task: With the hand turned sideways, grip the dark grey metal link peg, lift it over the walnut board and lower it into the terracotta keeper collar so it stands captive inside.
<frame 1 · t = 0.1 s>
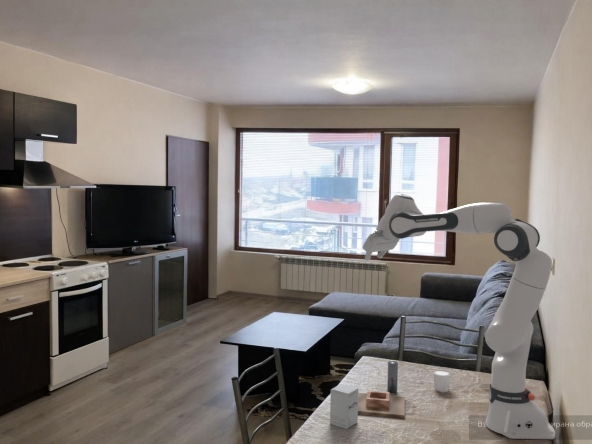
hand: (373, 258, 221), 54 cm above the table, tool tilted 30°, fingers open, 8 cm apart
link peg: (392, 391, 220), on the table
keeper board: (377, 406, 205), on the table
shot glass: (441, 389, 223), on the table
supplement box: (343, 423, 189), on the table
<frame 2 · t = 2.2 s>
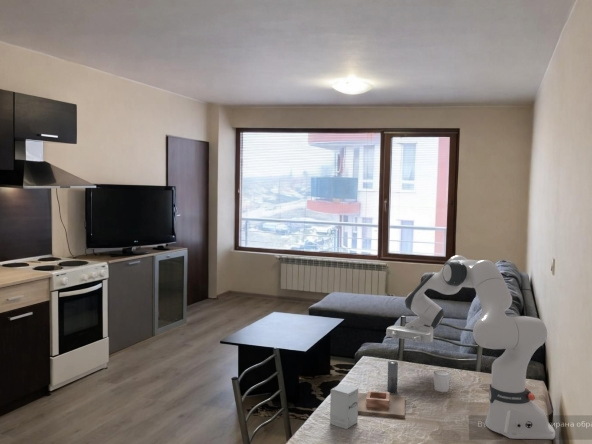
hand: (403, 338, 230), 19 cm above the table, tool horizontal, fingers open, 8 cm apart
nothing on the table moved.
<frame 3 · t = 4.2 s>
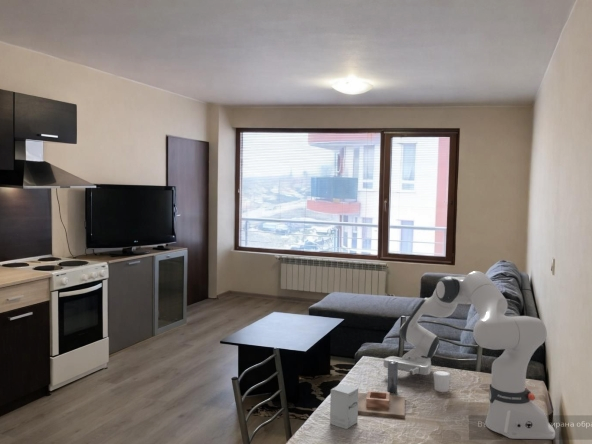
hand: (400, 370, 227), 6 cm above the table, tool horizontal, fingers open, 8 cm apart
nothing on the table moved.
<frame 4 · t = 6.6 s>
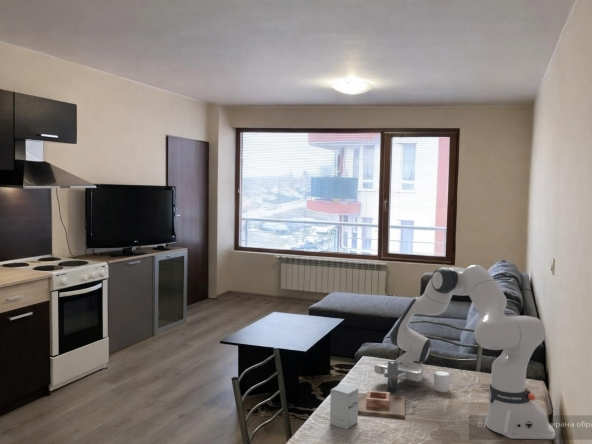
hand: (391, 376, 219), 7 cm above the table, tool horizontal, fingers closed on link peg, 4 cm apart
link peg: (392, 391, 220), on the table, touching gripper
everything else where it was.
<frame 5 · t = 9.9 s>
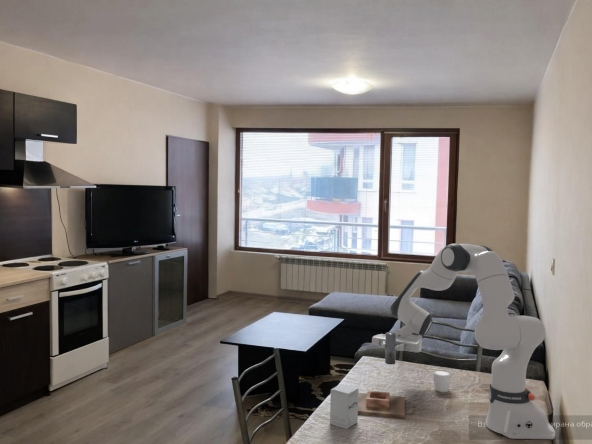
hand: (389, 347, 215), 20 cm above the table, tool horizontal, fingers closed on link peg, 4 cm apart
link peg: (390, 362, 216), point 13 cm above the table, touching gripper
everything else where it was.
when the fingers open (9 cm above the table, at t = 13.3 s): link peg drops 1 cm, resting on keeper board.
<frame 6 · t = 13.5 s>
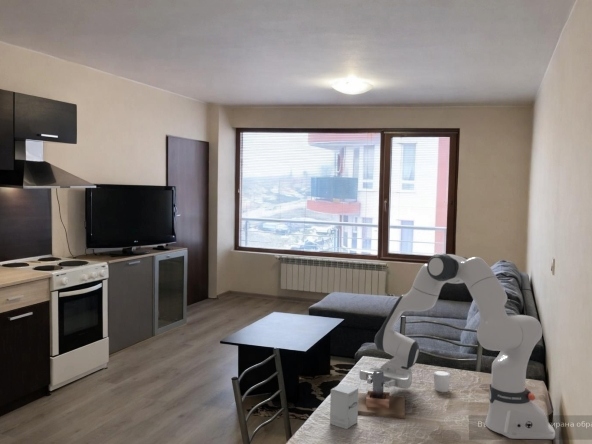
hand: (377, 383, 203), 9 cm above the table, tool horizontal, fingers open, 6 cm apart
link peg: (378, 403, 205), point 1 cm above the table, touching keeper board
everything else where it was.
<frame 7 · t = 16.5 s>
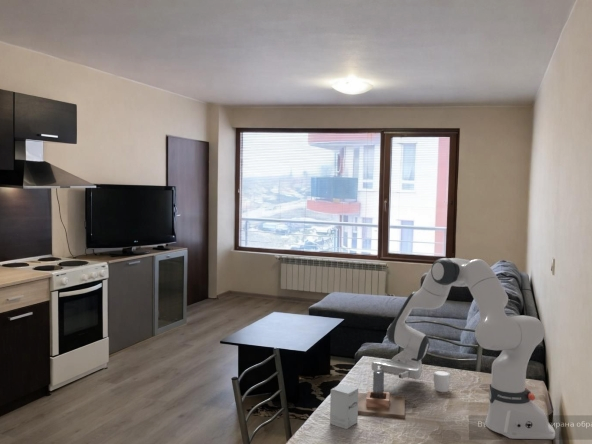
hand: (389, 374, 214), 9 cm above the table, tool horizontal, fingers open, 8 cm apart
nothing on the table moved.
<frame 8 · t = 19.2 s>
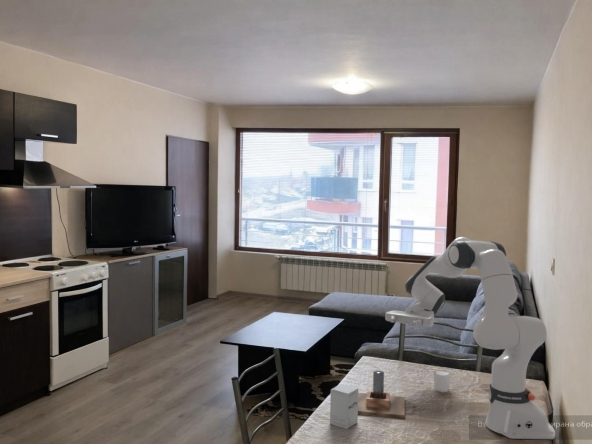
hand: (403, 322, 222), 28 cm above the table, tool horizontal, fingers open, 8 cm apart
nothing on the table moved.
at the end: link peg 0.0 cm off-centre on the keeper board, point 1.2 cm above the keeper board's base; link peg tilted 0°; the gripper is holding nothing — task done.
